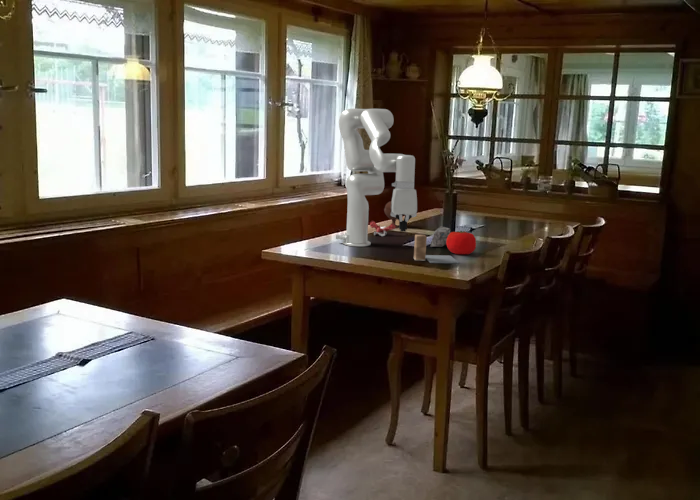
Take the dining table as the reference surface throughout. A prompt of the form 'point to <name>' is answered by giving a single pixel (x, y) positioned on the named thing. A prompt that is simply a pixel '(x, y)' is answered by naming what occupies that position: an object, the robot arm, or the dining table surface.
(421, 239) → the block
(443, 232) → the rock
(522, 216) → the dining table surface
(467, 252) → the tomato
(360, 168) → the robot arm
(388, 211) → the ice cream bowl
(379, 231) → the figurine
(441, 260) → the mat
